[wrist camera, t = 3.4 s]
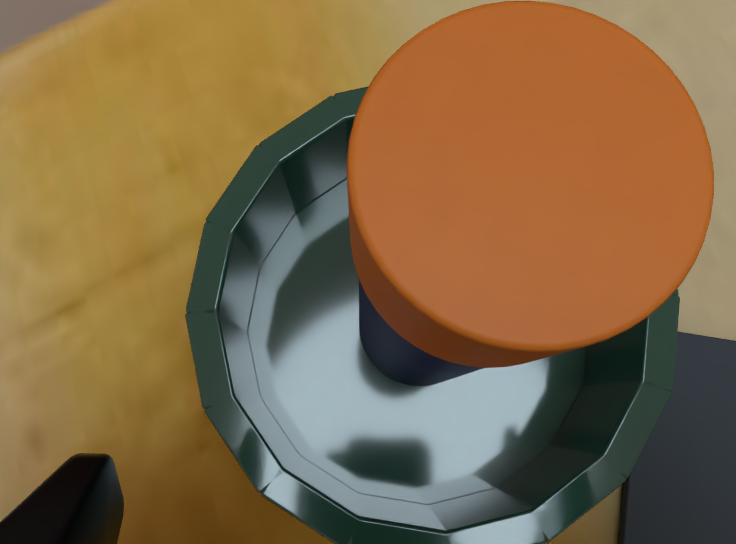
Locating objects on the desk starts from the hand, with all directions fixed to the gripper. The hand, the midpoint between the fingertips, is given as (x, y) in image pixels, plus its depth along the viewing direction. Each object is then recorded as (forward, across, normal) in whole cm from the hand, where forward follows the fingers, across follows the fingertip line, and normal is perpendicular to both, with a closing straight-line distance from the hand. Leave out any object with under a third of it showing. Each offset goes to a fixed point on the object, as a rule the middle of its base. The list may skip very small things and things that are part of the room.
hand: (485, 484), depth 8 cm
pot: (+10, 0, +5) cm, 11 cm away
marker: (+9, 0, +5) cm, 10 cm away
